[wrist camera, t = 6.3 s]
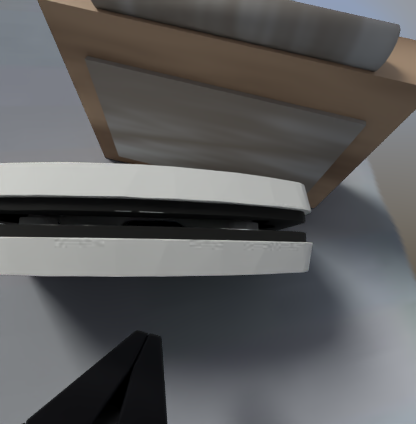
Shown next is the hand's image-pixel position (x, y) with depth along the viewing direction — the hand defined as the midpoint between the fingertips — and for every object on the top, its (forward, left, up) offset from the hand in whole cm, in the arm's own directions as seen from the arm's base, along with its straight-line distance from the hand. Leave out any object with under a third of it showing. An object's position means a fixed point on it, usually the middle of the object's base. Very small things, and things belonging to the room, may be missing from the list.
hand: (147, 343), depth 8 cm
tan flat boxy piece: (+13, 0, -6) cm, 15 cm away
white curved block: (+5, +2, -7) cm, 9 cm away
